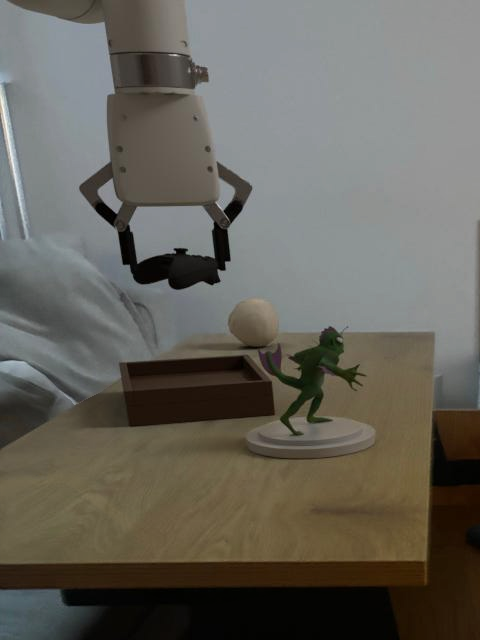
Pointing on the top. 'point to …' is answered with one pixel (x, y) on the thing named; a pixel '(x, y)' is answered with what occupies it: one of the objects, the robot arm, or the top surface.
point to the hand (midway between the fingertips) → (178, 270)
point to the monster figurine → (311, 407)
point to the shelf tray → (195, 389)
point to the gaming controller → (178, 269)
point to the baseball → (254, 322)
